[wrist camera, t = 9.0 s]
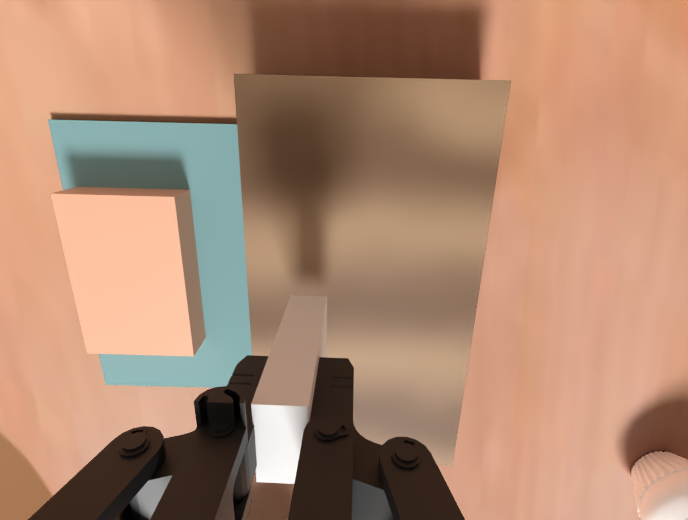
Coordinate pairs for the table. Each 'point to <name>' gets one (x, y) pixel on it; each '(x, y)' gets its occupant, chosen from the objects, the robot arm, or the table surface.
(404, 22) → the table surface
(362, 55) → the table surface
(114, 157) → the mat
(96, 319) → the block
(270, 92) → the brown wooden slab
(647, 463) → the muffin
